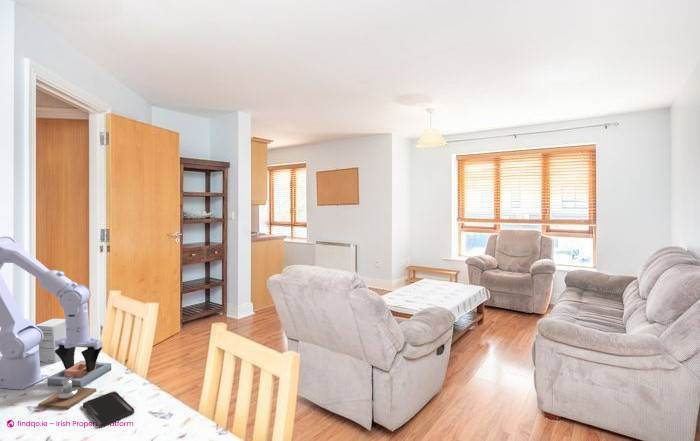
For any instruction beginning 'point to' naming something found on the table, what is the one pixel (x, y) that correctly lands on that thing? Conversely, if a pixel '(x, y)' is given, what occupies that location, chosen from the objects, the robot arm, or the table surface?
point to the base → (66, 404)
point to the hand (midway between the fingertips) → (80, 369)
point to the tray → (77, 382)
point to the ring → (77, 371)
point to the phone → (108, 408)
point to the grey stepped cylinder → (67, 390)
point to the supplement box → (51, 339)
